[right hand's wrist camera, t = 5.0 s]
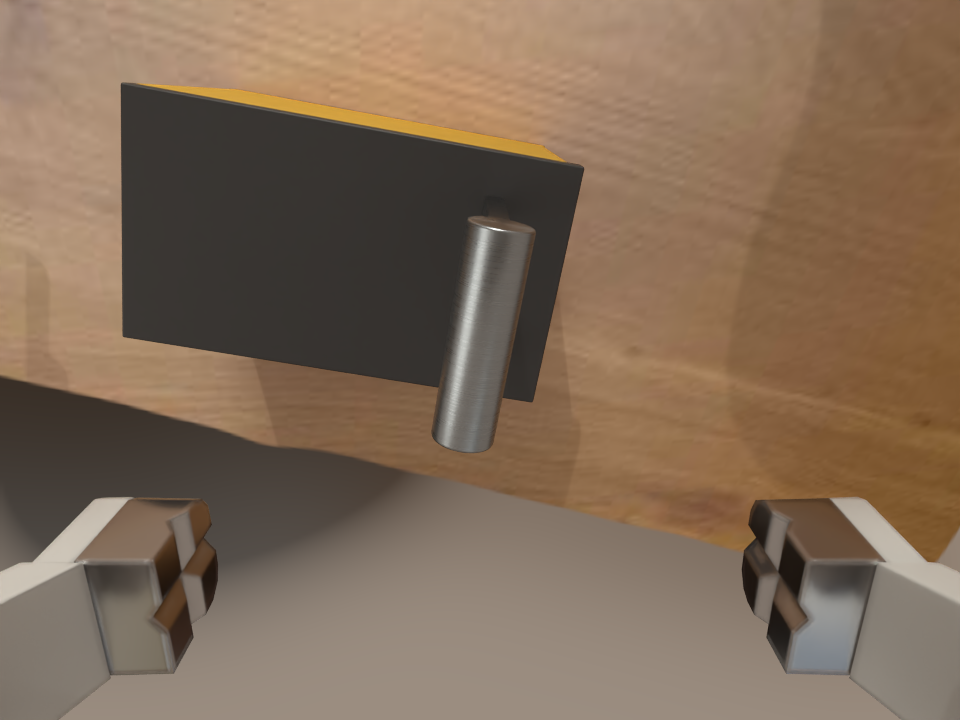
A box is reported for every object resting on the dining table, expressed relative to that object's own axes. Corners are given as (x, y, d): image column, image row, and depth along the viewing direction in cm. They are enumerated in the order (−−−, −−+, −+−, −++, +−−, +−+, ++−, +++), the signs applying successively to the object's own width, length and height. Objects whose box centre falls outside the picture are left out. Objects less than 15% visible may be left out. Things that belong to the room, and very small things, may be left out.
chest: (543, 145, 36) (569, 162, 25) (509, 316, 39) (520, 392, 29) (235, 89, 35) (133, 82, 24) (227, 268, 38) (133, 329, 28)
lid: (581, 164, 25) (630, 193, 17) (531, 393, 29) (552, 510, 20) (133, 82, 24) (-43, 71, 16) (133, 330, 28) (-14, 425, 19)
